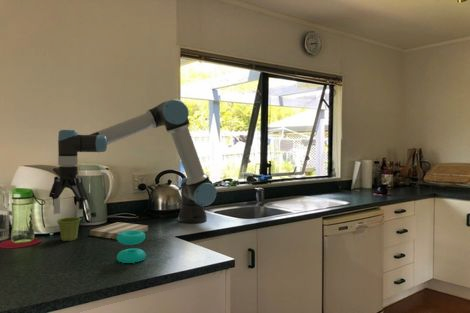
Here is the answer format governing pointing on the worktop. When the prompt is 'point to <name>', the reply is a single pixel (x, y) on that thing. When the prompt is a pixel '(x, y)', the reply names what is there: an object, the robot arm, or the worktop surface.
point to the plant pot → (69, 228)
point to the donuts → (133, 253)
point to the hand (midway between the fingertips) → (68, 215)
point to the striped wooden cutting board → (116, 229)
